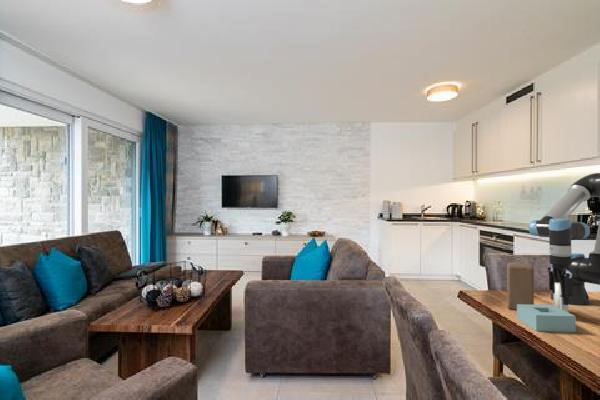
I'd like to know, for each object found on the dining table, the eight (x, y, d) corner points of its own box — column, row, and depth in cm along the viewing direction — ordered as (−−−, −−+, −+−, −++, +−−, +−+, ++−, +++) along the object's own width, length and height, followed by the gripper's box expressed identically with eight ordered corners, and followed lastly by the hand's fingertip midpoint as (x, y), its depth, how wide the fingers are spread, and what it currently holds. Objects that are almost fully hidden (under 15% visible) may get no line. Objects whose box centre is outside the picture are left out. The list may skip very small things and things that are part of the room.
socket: (552, 319, 146) (552, 305, 146) (575, 332, 132) (575, 316, 132) (517, 318, 147) (516, 304, 147) (536, 331, 133) (536, 315, 133)
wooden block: (533, 312, 154) (533, 267, 154) (507, 309, 160) (507, 265, 160) (533, 306, 163) (532, 263, 163) (508, 303, 168) (507, 262, 168)
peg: (562, 314, 150) (562, 282, 150) (569, 318, 146) (568, 284, 146) (552, 314, 151) (552, 282, 151) (558, 317, 147) (558, 284, 147)
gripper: (539, 252, 157) (539, 304, 157) (564, 258, 140) (564, 316, 140) (556, 252, 157) (557, 304, 157) (584, 258, 140) (584, 317, 140)
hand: (560, 310), depth 149 cm, fingers closed on peg, 4 cm apart
